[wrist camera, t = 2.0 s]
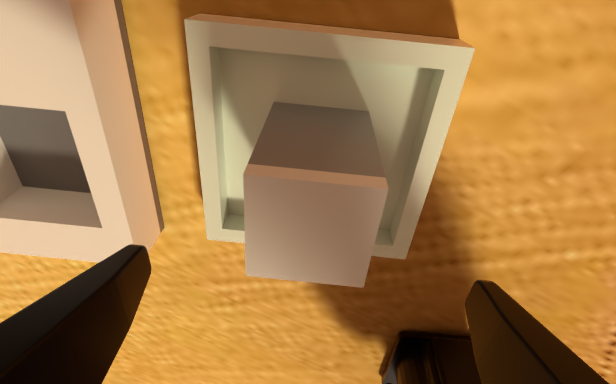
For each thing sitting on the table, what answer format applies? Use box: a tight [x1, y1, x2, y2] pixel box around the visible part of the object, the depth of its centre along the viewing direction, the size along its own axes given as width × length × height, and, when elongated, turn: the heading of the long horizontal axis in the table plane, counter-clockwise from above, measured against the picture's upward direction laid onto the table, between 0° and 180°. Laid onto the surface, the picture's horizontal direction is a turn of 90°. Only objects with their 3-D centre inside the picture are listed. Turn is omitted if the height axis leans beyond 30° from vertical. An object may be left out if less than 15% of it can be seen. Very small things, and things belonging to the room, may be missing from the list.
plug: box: [243, 102, 388, 288], centre depth 13 cm, size 4×4×6 cm
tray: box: [184, 13, 475, 259], centre depth 15 cm, size 10×10×2 cm
